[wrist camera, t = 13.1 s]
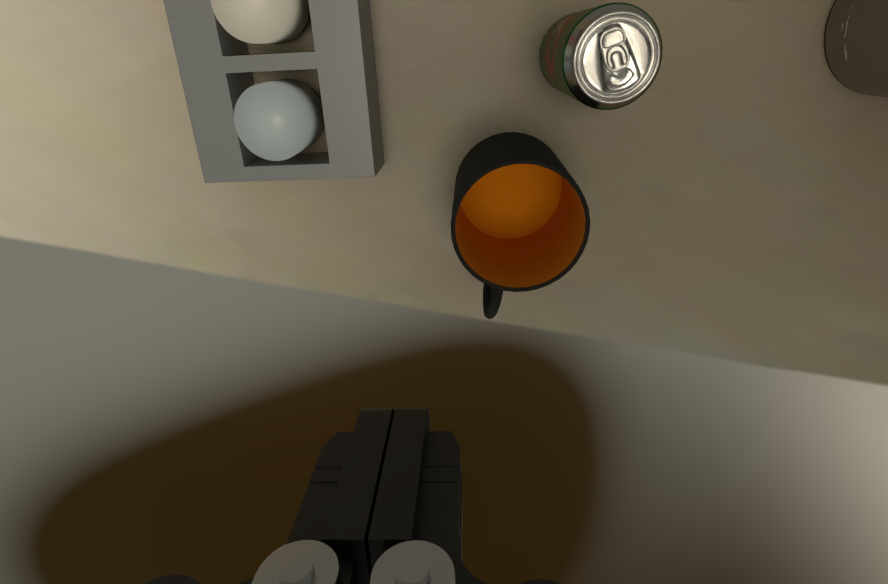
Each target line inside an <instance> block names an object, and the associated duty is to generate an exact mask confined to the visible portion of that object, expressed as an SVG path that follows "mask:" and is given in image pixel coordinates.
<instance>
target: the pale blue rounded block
mask: <svg viewBox="0 0 888 584" xmlns="http://www.w3.org/2000/svg"><path fill="white" fill-rule="evenodd" d="M234 124H235V128H236V131H237V134H238V136H239V138H240V139H241V141H242V142H243V144H244V145H245V146H246V147H247V148H248V149H249V150H250V151H251V152H252V153H254V154H255V155H257V156H259V157H261V158H263V159H266V160H271V161H282V160H286V159H289V158H291V157H293V156H295V155H296V154H298V153H299V152H301V151H302V150H304V149H306V148H307V147H309V146H310V145H312V144H313V143H314V142H315V141H316V140H317V139H318V137H319V136H320V134H321V132H322V129H323V125H324V116H323V108H322V105H321V103H320V100H319V99H318V97H317V95H316V94H315V93H314V92H313V91H312V90H311V89H310V88H309V87H308V86H307V85H305V84H303V83H301V82H299V81H296V80H293V79H279V80H274V81H269V82H264V83H259V84H255V85H253V86H251V87H249V88H248V89H246V90H245V91H244V92H243V93H242V94H241V95H240V97H239V99H238V100H237V103H236V105H235V109H234Z"/></svg>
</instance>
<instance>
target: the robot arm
mask: <svg viewBox="0 0 888 584" xmlns="http://www.w3.org/2000/svg"><path fill="white" fill-rule="evenodd" d="M825 47H826V56H827V59H828V62H829V65H830V68H831V70H832V71H833V73H834V74H835V76H836V77H837V79H838V80H839V81H840V82H842V83H843V84H844V85H845V86H846V87H848V88H849V89H852V90H854V91H856V92H858V93H862V94H868V95H874V96H881V97H888V0H836V2H835V4H834V6H833V8H832V10H831V14H830V17H829V20H828V23H827V28H826V36H825ZM460 452H461V451H460V446H459V444H458V442H457V440H456V439H455V437H454V435H453V434H452V432H451V431H431V429H430V415H429V409H428V408H397V409H395V410H394V409H361V411H360V412H359V415H358V419H357V422H356V425H355V429H354V432H337V433H336V434H335V435H334V436H333V437H332V438H331V439H330V440H329V441H328V442H327V443H326V444H325V445H324V447H322V449H321V451H320V454H319V457H318V459H317V462H316V465H315V470H313V473H312V476H311V479H310V481H309V486H307V489H306V492H305V495H304V497H303V500H302V503H301V505H300V508H299V511H298V514H297V516H296V519H295V522H294V524H293V527H292V530H291V532H290V535H289V538H288V540H287V543H286V545H284V546H282V547H281V548H279V549H277V550H276V551H275V552H273V553H272V554H271V555H269V557H268V558H266V559H265V561H264V562H263V563H262V564H261V566H260V568H259V569H258V571H257V573H256V575H255V577H253V578H251V579H248V580H246V581H244V582H241V583H238V584H487V583H485V582H483V581H481V580H479V579H477V578H476V577H475V576H474V575H473V574H471V573H470V572H469V570H468V569H467V568H466V567H465V565H464V564H463V562H462V560H461V559H462V508H463V496H462V475H461V453H460ZM146 584H199V583H198V582H197V581H196V580H194V579H193V578H190V577H189V576H185V575H168V576H164V577H160V578H157V579H155V580H152V581H150V582H148V583H146ZM520 584H559V583H557V582H554V581H550V580H543V579H536V580H529V581H525V582H523V583H520Z"/></svg>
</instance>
